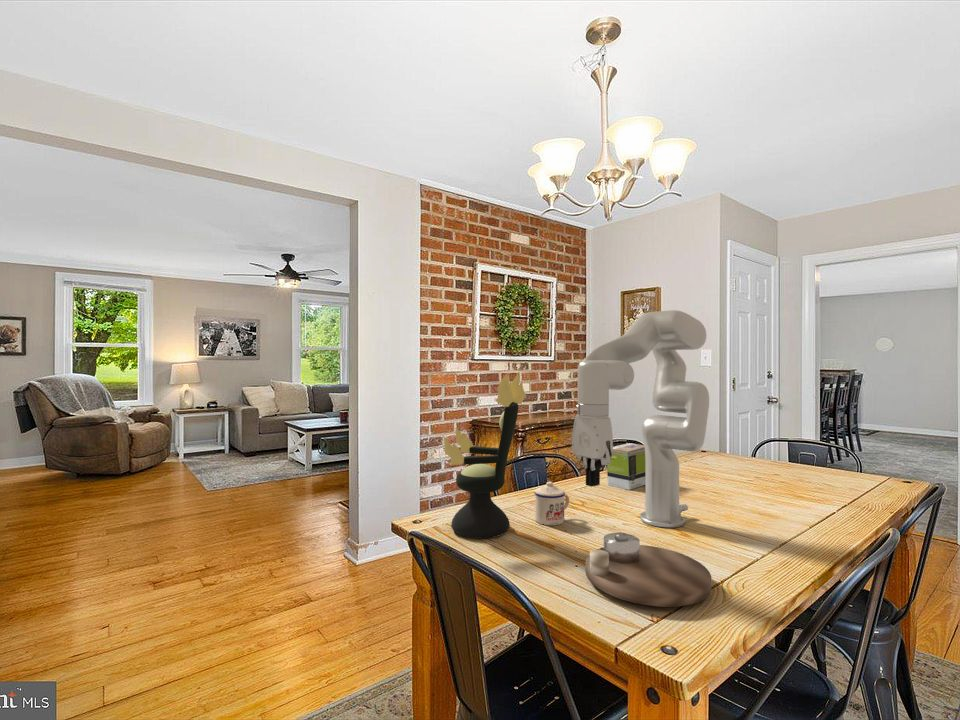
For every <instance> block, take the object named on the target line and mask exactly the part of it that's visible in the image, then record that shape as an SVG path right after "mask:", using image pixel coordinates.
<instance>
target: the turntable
mask: <svg viewBox="0 0 960 720" xmlns="http://www.w3.org/2000/svg"><path fill="white" fill-rule="evenodd" d="M585 575H586V577H587V579H588V580H589V582H590V583H591V584H592V585H593V586H594V587H596V588H597V589H599V590H600V591H601V592H604V593H606V594H607V595H609V596H612V597H615V598H617V599H620V600H623V601H626V602H630V603H634V604H640V605H645V606H652V607H663V608H665V607H666V608H668V607H683V606H691V605H694V604H696V603H699V602H702V601H704V600H705V599H707V598H708V597H709V595H710V594H711V592H712V574H711V572H710V571H709V570H708V568H707V567H705V565H703V564H702V563H701V562H699V561H698V560H696V559H694V558H692V557H690V556H688V555H685V554H683V553H681V552H678V551H674V550H672V549H668V548H663V547H659V546H653V545H646V544H645V545H644V544H640V559H639V561H637V562H635V563H628V564H625V563H617V562H613V561H610V560H609V553H608V552H606V551H604V546H603V547H600V548H597V549H592V550H590V551H589V554H588V555H587V556H586V558H585Z"/></svg>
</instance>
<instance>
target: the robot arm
mask: <svg viewBox="0 0 960 720" xmlns="http://www.w3.org/2000/svg"><path fill="white" fill-rule="evenodd" d="M706 340H707V330H706V328H705V325H704V323H702V321H700V320H699V319H697V318H695V317H694V316H693V315H690V314H688V313H687V312H684V311H681V310H676V309H675V310H674V309H673V310H658V311H649V312H645V313H643V314H642V315H640V316H639V317H638V318H637V319H636V321H634V322H633V324H632V325H631V326H630V327H629V328H628V330H626V332H624V334H623V335H621V336H619V337H616V338H615V339H612V340H610V341H608V342H605V343H604V344H601V345H599V346H598V347H596V348H595V349H593V350H592V351H591V352H590V353H589V354H588V355H586V357H585V358H584V359H583V360H582V361H581V362H579V363H578V365H577V405H576V410H577V415H575V418H574V421H573V426H572V427H573V428H572V437H571V438H572V439H571V451H572V453H573V454H574V455H575V456H576V458H577V459H579V460H580V461H581V462H582V465H583V468H584V469H585V485H586V486H588V487H590V488H591V487H598V486H600V485H601V483H600V482H601V477H600V476H601V475H600V474H601V470H602V469H603V467H604V466H607V465H608V464H611V461H610V458H611V457H612V454H613V447H614V439H613V437H614V435H613V430H612V429H613V428H612V422H611V418H610V410H609V409H610V402H609V401H610V395H609V394H610V393H609V392H610V390H611V391H612V390H614V391H618V390H619V391H620V390H625V389H628V388H629V387H630V386H631V385H632V384H633V382H634V380H635V379H634V378H635V371H634V368H633V366H632V365H631V364H632V363H635V362H639V361H641V360H643V359H645V358H646V357H648V355H650V353H651V351H652V354H653V355H654V358H655V362H656V371H655V372H656V373H655V378H654V385H653V391H652V404H653V405H652V406H653V408H654V409H656V410H658V411H660V412H664V413H665V412H667V413H675V414H677V413H678V414H686V417H683V416H674V415H673V416H672V415H663V414H655V415H650V416H648V417H646V418H645V419H644V421H643V422H642V424H641V425H642V426H641V434H642V435H641V436H642V440H643V445H644V446H645V485H644V486H645V487H644V489H645V503H644V504H645V506H644V507H645V511H642V512H641V513H640V515H639V519H640V521H642V522H643V523H645V524H648V525H650V526H654V527H659V528H679V527H682V526H684V525H685V523H686V519H685V517H684V516H682V514H681V513H682V512H686V511H688V510H689V506H688V504H687V503H683V504H680V461H679V458H678V457H677V455H676V453H675V452H674V450H678V451H685V452H698V451H700V450H701V449H702V447H703V445H704V443H705V439H706V438H705V437H706V433H707V432H706V431H707V423H708V417H709V410H710V409H709V408H710V394H709V391H708V388H707V386H706V385H705V384H703V383H701V382H698V381H690V380H689V381H688V380H687V381H686V376H687V374H686V373H687V365H686V363H685V361H684V359H683V357H681V355H680V354H679V353H678V350H679V351H680V350H681V351H684V350H685V351H687V350H688V351H689V350H691V351H693V350H699V349H701V348H702V347H703V346H704V345H705V344H706V342H707V341H706Z"/></svg>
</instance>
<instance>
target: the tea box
mask: <svg viewBox="0 0 960 720" xmlns="http://www.w3.org/2000/svg"><path fill="white" fill-rule="evenodd" d="M610 461H611V464H608V465H606V467H607V468H606V471H607V473H606V474H607V485H608V486H610V487H614V488H618V489H624V490H628V491H631V490H633V489H636V488H640V487H642V486H645V446H644V444H638V443H630V442H628V443H623V444H620V445H619V444H618V445H616V446H614V445H613V454H612V457H611V458H610Z"/></svg>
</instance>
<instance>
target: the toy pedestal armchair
mask: <svg viewBox="0 0 960 720" xmlns="http://www.w3.org/2000/svg"><path fill="white" fill-rule="evenodd" d="M496 390H497V393H498V397H497V398H494V401H495V402H496V403H497V404H499V405H501V406H503V407H505V408H504V411H502V413H501V415H500V417H499V422H498V423H499V428H500V431H501V433H500V439H499V445H498V447H491V446H490V447H489V446H488V447H487V446H478V445H477V446H476V445H475V446H474V444H473V442H472V441H471V439H470V438H469V436H468V435H466V433H464V432H462V431H460V429H458V428H457V427H455V442H454V441H452V443H451V442H450V440H449V438H447V437H445V436H444V437H443V441H444V454H445V455H447V456H448V457H450V462H449V464H448V465H449V466H453V465H454V466H456V465H463V464H464V465H468V466H466V467H464V468H463V470H461V472H459V473H458V474H457V476H456V478H455V483H456V486H457V487H458V489H460V490H461V491H464V492H467V493H469V495H470V496H469V499H468V501H467V503H465V504H463V506H462V507H461V508H460V509H459V510H458V511H457V512H456V513H455V514H454V515H453V518H452V519H451V523H450V526H451V529H452V530H453V531H454V533H456V534H458V535H459V536H462V537H464V538H471V539H491V538H496V537H499V536H502V535H504V534H505V533H506V532H508V530H509V529H510V519H509V517H508V515H507V514H506V512H504V511H503V510H502V509H501V507H499V506H498V505H497V504H496V503H495V502H493V500H492V497H491V493H494V492H497V491H499V490H500V489H502V488H503V486H504V485H505V481H506V480H505V476H506V469H507V463H508V458H509V455H510V454H509V453H510V449H511V445H512V440H513V436H514V432H515V430H516V429H515V428H516V424H517V420H518V415H519V414H518V413H519V405H521V404H522V403H523V402H524V400H525V398H526V397H527V394H526V392H525V390H524V385H523V381H521V382H520V374H519V373H518V372H517V374H516V375H515V376H514V378H513V380H512V382H511V383H510V377H509V375H508V374H507V375H503V377H502V380H501V381H500V383H499V384H498V386H497V388H496ZM455 443H456V444H455ZM457 445H458V446H457ZM459 446H460V449H459ZM462 453H463V454H462ZM464 454H476V455H469V456H466V455H465V456H464ZM489 464H495V466H492V465H489Z"/></svg>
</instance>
